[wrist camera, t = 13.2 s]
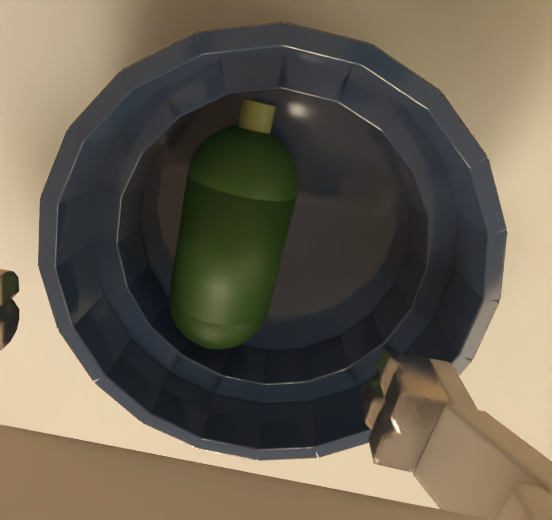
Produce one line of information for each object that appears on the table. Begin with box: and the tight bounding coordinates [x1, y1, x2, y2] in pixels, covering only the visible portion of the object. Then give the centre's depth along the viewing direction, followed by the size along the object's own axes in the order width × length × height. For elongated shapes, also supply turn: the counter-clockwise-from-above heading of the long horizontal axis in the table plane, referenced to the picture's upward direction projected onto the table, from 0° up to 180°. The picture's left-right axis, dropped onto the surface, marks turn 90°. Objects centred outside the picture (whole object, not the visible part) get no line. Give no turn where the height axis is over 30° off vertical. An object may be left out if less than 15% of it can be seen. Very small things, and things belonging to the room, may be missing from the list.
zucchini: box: [169, 98, 298, 349], centre depth 17 cm, size 10×4×4 cm, turn 167°
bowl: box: [38, 22, 507, 461], centre depth 17 cm, size 15×15×6 cm
